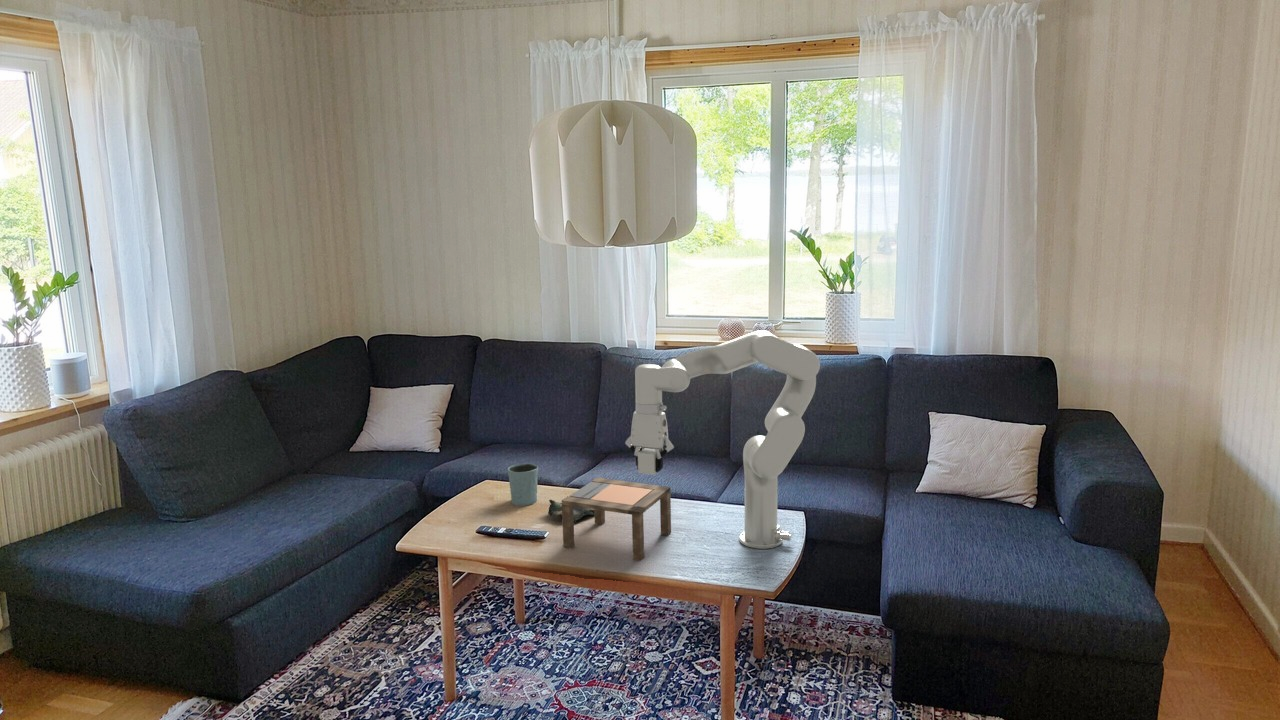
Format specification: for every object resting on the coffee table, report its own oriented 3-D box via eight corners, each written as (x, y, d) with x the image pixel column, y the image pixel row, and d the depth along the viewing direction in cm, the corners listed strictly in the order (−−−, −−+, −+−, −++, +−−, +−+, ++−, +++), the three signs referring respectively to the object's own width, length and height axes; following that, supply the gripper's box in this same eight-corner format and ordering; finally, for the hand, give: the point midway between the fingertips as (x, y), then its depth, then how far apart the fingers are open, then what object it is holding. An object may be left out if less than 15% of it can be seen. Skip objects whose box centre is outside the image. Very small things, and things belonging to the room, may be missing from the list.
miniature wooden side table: (671, 532, 256) (670, 487, 253) (640, 560, 236) (639, 511, 234) (598, 521, 266) (596, 477, 264) (563, 547, 247) (561, 500, 244)
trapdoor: (653, 502, 252) (652, 489, 251) (633, 518, 239) (632, 504, 239) (591, 493, 261) (591, 481, 260) (569, 508, 248) (569, 495, 247)
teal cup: (506, 506, 281) (505, 472, 279) (512, 496, 291) (510, 463, 289) (537, 506, 281) (535, 472, 278) (541, 496, 291) (540, 462, 288)
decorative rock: (570, 489, 285) (608, 492, 278) (571, 507, 285) (609, 510, 279) (538, 504, 268) (579, 507, 261) (540, 523, 269) (580, 527, 262)
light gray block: (660, 469, 243) (660, 449, 242) (654, 474, 238) (653, 454, 237) (645, 467, 245) (644, 447, 244) (638, 472, 240) (637, 452, 239)
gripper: (681, 407, 238) (681, 469, 241) (627, 402, 245) (628, 462, 248) (671, 413, 231) (672, 477, 235) (616, 408, 238) (617, 469, 242)
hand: (649, 468), depth 242 cm, fingers closed on light gray block, 5 cm apart
